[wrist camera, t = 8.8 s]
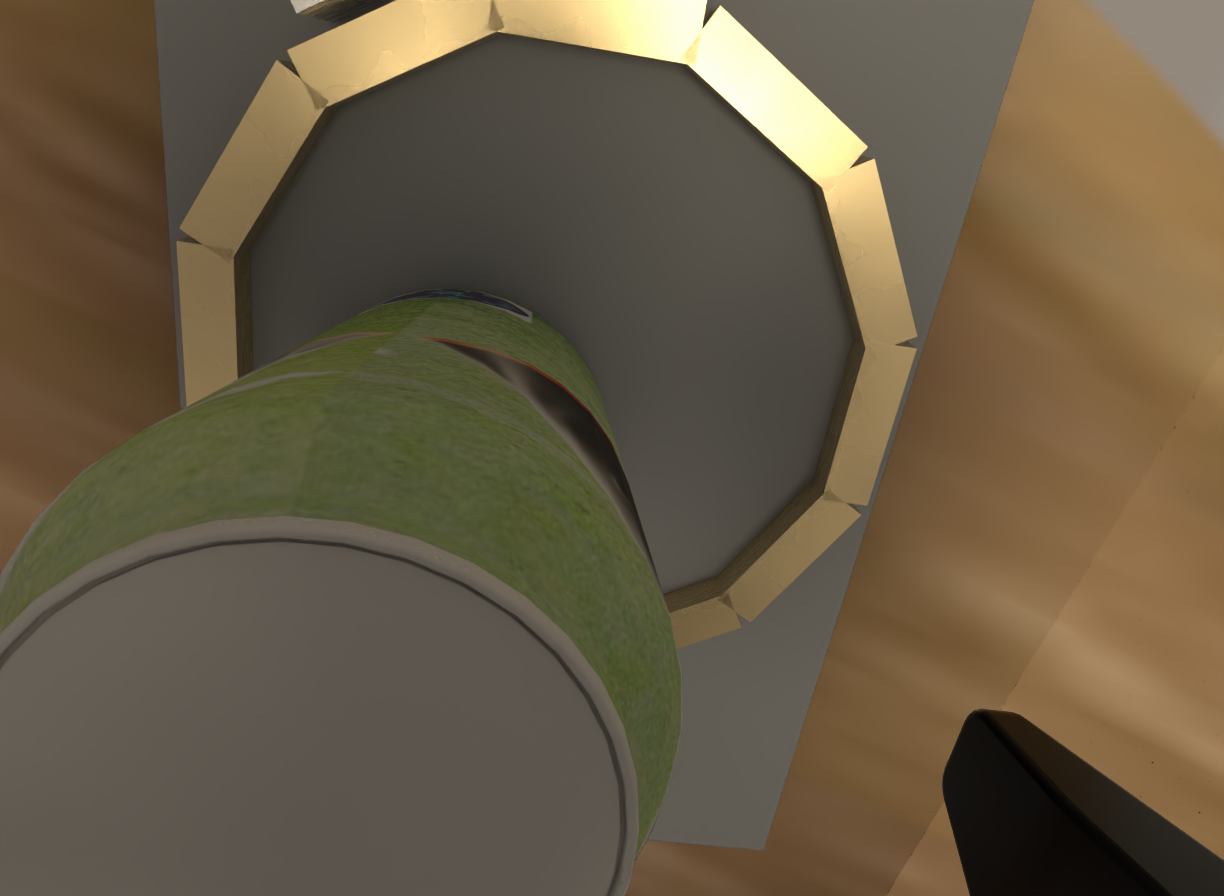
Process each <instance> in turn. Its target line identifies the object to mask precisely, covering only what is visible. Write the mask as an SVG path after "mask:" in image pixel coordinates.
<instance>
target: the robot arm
mask: <svg viewBox="0 0 1224 896" xmlns="http://www.w3.org/2000/svg"><path fill="white" fill-rule="evenodd" d="M942 787H943V796H944V801H945V804H946V808H947V812H948V815H949V819H950V823H951V827H952V830H953V834H954V838H955V842H956V845H957V849H958V853H959V856H960V860H961V864H962V868H963V871H964V875H965V879H966V883H967V886H968V890H969V894H970V896H1224V860H1223V859H1221V858H1220V857H1218V856H1217V855H1216V854H1214V853H1213V852H1211V851H1210V850H1209V849H1207V848H1206V847H1204V846H1203V845H1202V844H1200V843H1199V842H1197V841H1196V840H1195V839H1193V838H1192V837H1190V836H1189V835H1188V834H1186V833H1185V832H1183V831H1182V830H1181V829H1179V828H1178V827H1176V826H1175V825H1174V824H1172V823H1171V822H1169V821H1168V820H1167V819H1165V818H1164V817H1162V816H1161V815H1160V814H1158V813H1157V812H1155V811H1154V810H1153V809H1151V808H1150V807H1148V806H1147V805H1146V804H1144V803H1143V802H1141V801H1140V800H1139V799H1137V798H1136V797H1134V796H1133V795H1132V794H1130V793H1129V792H1127V791H1126V790H1125V789H1123V788H1122V787H1121V786H1119V785H1118V784H1116V783H1115V782H1114V781H1112V780H1111V779H1109V778H1108V777H1107V776H1105V775H1104V774H1102V773H1101V772H1100V771H1098V770H1097V769H1095V768H1094V767H1093V766H1091V765H1090V764H1088V763H1087V762H1086V761H1084V760H1083V759H1081V758H1080V757H1079V756H1077V755H1076V754H1074V753H1073V752H1072V751H1070V750H1069V749H1067V748H1066V747H1065V746H1063V745H1062V744H1060V743H1059V742H1058V741H1056V740H1055V739H1053V738H1052V737H1051V736H1049V735H1048V734H1046V733H1045V732H1044V731H1042V730H1041V729H1039V728H1038V727H1037V726H1035V725H1034V724H1032V723H1031V722H1030V721H1028V720H1027V719H1025V718H1024V717H1022V716H1021V715H1019V714H1016V713H1013V712H1007V711H997V710H988V709H978V710H974V711H973V712H971V713H970V714H969V715H968V716H967V718H966V720H965V722H964V724H963V727H962V729H961V732H960V734H959V736H958V739H957V741H956V743H955V746H954V748H953V751H952V753H951V755H950V758H949V760H948V762H947V765H946V767H945V770H944V774H943V785H942Z"/></svg>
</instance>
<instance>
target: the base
mask: <svg viewBox="0 0 1224 896" xmlns="http://www.w3.org/2000/svg"><path fill="white" fill-rule="evenodd" d="M394 1H396V0H385V1H383V2H380V3H378V4H376V5H374V6H372V7H369V8H367V9H365V10H363V11H361V12H359V13H356V14H354V15H352V16H350V17H348V18H345V19H343V20H341V21H339V22H337V23H332V22H328V21H325V20H321V19H317V18H313V17H310V16H306V15H302V14H298V13H296V11H295V9H294V7H293V5H292V3H291V0H154V9H155V24H156V40H157V55H158V70H159V86H160V101H161V116H162V132H163V147H164V162H165V178H166V193H167V208H168V224H169V239H170V255H171V270H172V285H173V301H174V316H175V331H176V347H177V362H178V377H179V393H180V408H181V410H182V409H184V408H185V407H187V405H186V389H185V372H184V356H183V340H182V324H181V308H180V292H179V275H178V259H177V243H176V241H178V240H180V239H183V238H186V237H189V236H190V235H188V234H187V233H185V232H184V231H182V230H181V229H179V228H180V226H181V224H182V222H183V221H184V219H185V217H186V216H187V214H188V212H189V210H190V209H191V207H192V205H193V203H194V202H195V200H196V198H197V197H198V195H199V193H200V191H201V190H202V188H203V186H204V184H205V183H206V181H207V179H208V177H209V176H210V174H211V172H212V171H213V169H214V167H215V165H216V164H217V162H218V160H219V158H220V157H221V155H222V153H223V152H224V150H225V148H226V146H227V145H228V143H229V141H230V139H231V138H232V136H233V134H234V133H235V131H236V129H237V127H238V126H239V124H240V122H241V120H242V119H243V117H244V115H245V113H246V112H247V110H248V108H249V107H250V105H251V103H252V101H253V100H254V98H255V96H256V94H257V93H258V91H259V89H260V88H261V86H262V84H263V82H264V81H265V79H266V77H267V75H268V74H269V72H270V70H271V69H272V67H273V65H274V63H275V62H276V60H282V61H292V59H291V57H290V55H289V53H288V51H287V50H289V49H291V48H293V47H295V46H297V45H300V44H302V43H304V42H306V41H308V40H311V39H313V38H315V37H317V36H319V35H321V34H324V33H326V32H328V31H330V30H332V29H335V28H337V27H339V26H341V25H343V24H345V23H348V22H350V21H352V20H354V19H356V18H359V17H361V16H363V15H365V14H367V13H369V12H372V11H374V10H376V9H378V8H380V7H383V6H385V5H387V4H389V3H391V2H394ZM1033 2H1034V0H707V3H706V9H705V14H704V20H703V23H704V22H705V21H706V19H707V18H708V17H709V15H710V14H711V13H712V11H713V10H714V9H716V8H717V7H719V6H721V7H722V8H724V9H725V10H726V11H727V12H728V13H729V14H730V15H731V16H732V17H733V18H734V19H735V20H736V21H737V22H738V23H739V24H740V25H741V26H742V27H743V28H744V29H745V30H746V31H748V32H749V33H750V34H751V35H752V36H753V37H754V38H755V39H756V40H757V41H758V42H759V43H760V44H761V45H762V46H763V47H764V48H765V49H766V50H767V51H768V52H769V53H771V54H772V55H773V56H774V57H775V58H776V59H777V60H778V61H779V62H780V63H781V64H782V65H783V66H784V67H785V68H786V69H787V70H788V71H789V72H790V73H791V74H792V75H793V76H795V77H796V78H797V79H798V80H799V81H800V82H801V83H802V84H803V85H804V86H805V87H806V88H807V89H808V90H809V91H810V92H811V93H812V94H813V95H814V96H815V97H816V98H817V99H819V100H820V101H821V102H822V103H823V104H824V105H825V106H826V107H827V108H828V109H829V110H830V111H831V112H832V113H833V114H834V115H835V116H836V117H837V118H838V119H839V120H840V121H841V122H843V123H844V124H845V125H846V126H847V127H848V128H849V129H850V130H851V131H852V132H853V133H854V134H855V135H856V136H857V137H858V138H859V139H860V140H861V141H862V142H863V143H864V144H866V145H867V146H868V147H867V149H866V150H865V151H864V152H863V153H862V154H861V156H866V157H870V158H874V159H875V162H876V166H877V171H878V175H879V179H880V183H881V187H882V191H883V196H884V200H885V204H886V208H887V212H888V216H889V220H890V225H891V229H892V233H893V237H894V241H895V245H896V249H897V254H898V258H899V262H900V266H901V270H902V274H903V278H904V283H905V287H906V291H907V295H908V299H909V303H910V308H911V312H912V316H913V320H914V324H915V328H916V332H917V337H915V338H912V339H909V340H907V341H908V342H909V343H911V344H912V345H913V346H914V347H916V348H917V350H916V353H915V356H914V359H913V362H912V366H911V369H910V372H909V375H908V378H907V382H906V385H905V388H904V391H903V394H902V397H901V401H900V404H899V407H898V410H897V413H896V416H895V420H894V423H893V426H892V429H891V432H890V435H889V439H888V442H887V445H886V448H885V451H884V454H883V458H882V461H881V464H880V467H879V470H878V473H877V477H876V480H875V483H874V486H873V489H872V493H871V496H870V499H869V502H868V505H867V506H866V505H858V504H855V506H856V507H857V509H858V510H859V512H860V513H861V516H860V517H859V518H858V519H857V520H856V521H855V522H854V523H853V524H852V525H851V526H850V527H849V528H848V529H846V530H845V531H844V532H843V533H842V534H841V535H840V536H839V537H838V538H837V539H836V540H835V541H834V542H833V543H832V544H831V545H830V546H829V547H828V548H827V549H826V550H825V551H824V552H823V553H822V554H821V555H820V556H819V557H818V558H817V559H815V560H814V561H813V562H812V563H811V564H810V565H809V566H808V567H807V568H806V569H805V570H804V571H803V572H802V573H801V574H800V575H799V576H798V577H797V578H796V579H795V580H794V581H793V582H792V583H791V584H790V585H789V586H788V587H787V588H786V589H784V590H783V591H782V592H781V593H780V594H779V595H778V596H777V597H776V598H775V599H774V600H773V601H772V602H771V603H770V604H769V605H768V606H767V607H766V608H765V609H764V610H763V611H762V612H761V613H760V614H759V615H758V616H757V617H756V618H755V619H753V620H752V621H751V622H749V621H748V620H747V619H745V618H744V617H742V616H741V615H739V614H738V617H739V620H740V624H741V628H739V629H736V630H733V631H730V632H727V633H724V634H721V635H718V636H715V637H712V638H709V639H706V640H703V641H700V642H697V643H694V644H690V645H687V646H684V647H681V648H678V649H677V650H678V654H679V659H680V663H681V671H682V717H683V721H682V730H681V735H680V741H679V746H678V752H677V758H676V763H675V769H674V775H673V779H672V782H671V785H670V787H669V790H668V792H667V795H666V797H665V800H664V803H663V805H662V808H661V810H660V813H659V816H658V818H657V821H656V823H655V826H654V828H653V831H652V833H651V835H650V837H649V838H648V840H653V841H664V842H676V843H687V844H698V845H709V846H720V847H731V848H743V849H754V850H764V847H765V844H766V841H767V837H768V834H769V831H770V828H771V825H772V822H773V819H774V815H775V812H776V809H777V806H778V803H779V800H780V797H781V793H782V790H783V787H784V784H785V781H786V778H787V775H788V771H789V768H790V765H791V762H792V759H793V756H794V753H795V750H796V746H797V743H798V740H799V737H800V734H801V731H802V728H803V724H804V721H805V718H806V715H807V712H808V709H809V706H810V702H811V699H812V696H813V693H814V690H815V687H816V684H817V680H818V677H819V674H820V671H821V668H822V665H823V662H824V658H825V655H826V652H827V649H828V646H829V643H830V640H831V637H832V633H833V630H834V627H835V624H836V621H837V618H838V615H839V611H840V608H841V605H842V602H843V599H844V596H845V593H846V589H847V586H848V583H849V580H850V577H851V574H852V571H853V567H854V564H855V561H856V558H857V555H858V552H859V549H860V545H861V542H862V539H863V536H864V533H865V530H866V527H867V524H868V520H869V517H870V514H871V511H872V508H873V505H874V502H875V498H876V495H877V492H878V489H879V486H880V483H881V480H882V476H883V473H884V470H885V467H886V464H887V461H888V458H889V454H890V451H891V448H892V445H893V442H894V439H895V436H896V432H897V429H898V426H899V423H900V420H901V417H902V414H903V411H904V407H905V404H906V401H907V398H908V395H909V392H910V389H911V385H912V382H913V379H914V376H915V373H916V370H917V367H918V363H919V360H920V357H921V354H922V351H923V348H924V345H925V341H926V338H927V335H928V332H929V329H930V326H931V323H932V319H933V316H934V313H935V310H936V307H937V304H938V301H939V298H940V294H941V291H942V288H943V285H944V282H945V279H946V276H947V272H948V269H949V266H950V263H951V260H952V257H953V254H954V250H955V247H956V244H957V241H958V238H959V235H960V232H961V228H962V225H963V222H964V219H965V216H966V213H967V210H968V206H969V203H970V200H971V197H972V194H973V191H974V188H975V185H976V181H977V178H978V175H979V172H980V169H981V166H982V163H983V159H984V156H985V153H986V150H987V147H988V144H989V141H990V137H991V134H992V131H993V128H994V125H995V122H996V119H997V115H998V112H999V109H1000V106H1001V103H1002V100H1003V97H1004V93H1005V90H1006V87H1007V84H1008V81H1009V78H1010V75H1011V72H1012V68H1013V65H1014V62H1015V59H1016V56H1017V53H1018V50H1019V46H1020V43H1021V40H1022V37H1023V34H1024V31H1025V28H1026V24H1027V21H1028V18H1029V15H1030V12H1031V9H1032V6H1033ZM292 62H293V61H292ZM250 256H251V295H252V334H253V371H254V370H256V369H258V368H260V367H261V366H263V365H265V364H267V363H269V362H271V361H273V360H274V359H276V358H278V357H280V356H282V355H284V354H286V353H287V352H289V351H291V350H293V349H295V348H297V347H299V346H300V345H302V344H304V343H306V342H308V341H310V340H312V339H313V338H315V337H317V336H319V335H321V334H323V333H324V332H326V331H328V330H330V329H332V328H334V327H336V326H337V325H339V324H341V323H343V322H345V321H347V320H349V319H350V318H352V317H354V316H356V315H358V314H360V313H362V312H363V311H365V310H367V309H369V308H371V307H373V306H375V305H377V304H380V303H382V302H384V301H387V300H389V299H391V298H394V297H396V296H398V295H402V294H407V293H411V292H415V291H420V290H424V289H437V288H461V289H469V290H477V291H483V292H487V293H490V294H493V295H497V296H500V297H503V298H506V299H510V300H512V301H514V302H516V303H518V304H519V305H521V306H523V307H525V308H527V309H529V310H531V311H533V312H535V313H536V314H538V315H539V316H540V317H542V318H543V319H544V320H546V321H547V322H549V323H550V324H551V325H553V326H554V327H555V328H557V329H558V330H559V332H560V333H561V334H562V335H563V336H564V337H565V338H566V339H567V340H568V341H569V342H570V343H571V344H572V345H573V346H574V347H575V348H576V350H577V351H578V353H579V354H580V356H581V357H582V359H583V360H584V362H585V364H586V365H587V367H588V368H589V370H590V371H591V373H592V376H593V378H594V380H595V383H596V385H597V387H598V390H599V392H600V394H601V397H602V401H603V404H604V407H605V410H606V413H607V416H608V420H609V423H610V426H611V429H612V432H613V436H614V439H615V442H616V445H617V448H618V451H619V455H620V458H621V461H622V464H623V467H624V471H625V474H626V477H627V480H628V483H629V486H630V490H631V493H632V496H633V499H634V502H635V506H636V509H637V512H638V515H639V518H640V521H641V525H642V528H643V531H644V534H645V537H646V541H647V544H648V547H649V550H650V553H651V556H652V560H653V563H654V566H655V569H656V572H657V576H658V579H659V582H660V585H661V588H662V591H663V594H664V593H667V592H670V591H673V590H676V589H679V588H682V587H685V586H688V585H691V584H694V583H697V582H700V581H703V580H706V579H709V578H712V577H715V576H717V575H718V574H719V573H720V572H721V571H722V570H723V569H724V568H725V567H726V566H727V565H728V564H729V563H730V562H731V561H732V560H733V559H734V558H735V557H736V556H737V555H738V554H739V553H740V552H741V551H742V550H743V549H744V548H745V547H746V546H747V545H748V544H749V543H750V542H751V541H752V540H753V539H754V538H755V537H756V536H757V535H758V534H759V533H760V532H761V530H762V529H763V528H764V527H765V526H766V525H767V524H768V523H769V522H770V521H771V520H772V519H773V518H774V517H775V516H776V515H777V514H778V513H779V512H780V511H781V510H782V509H783V508H784V507H785V506H786V505H787V504H788V503H789V502H790V501H791V500H792V499H793V498H794V497H795V496H796V495H797V494H798V493H799V492H800V491H801V490H802V489H803V488H804V487H805V486H806V485H807V484H808V483H809V482H810V481H811V480H812V479H813V478H814V475H815V472H816V468H817V465H818V461H819V458H820V454H821V451H822V447H823V443H824V440H825V436H826V433H827V429H828V426H829V422H830V418H831V415H832V411H833V408H834V404H835V401H836V397H837V394H838V390H839V386H840V383H841V379H842V376H843V372H844V369H845V365H846V362H847V358H848V354H849V351H850V347H851V344H852V340H853V333H852V330H851V326H850V323H849V319H848V315H847V312H846V308H845V304H844V301H843V297H842V293H841V290H840V286H839V282H838V279H837V275H836V272H835V268H834V264H833V261H832V257H831V253H830V250H829V246H828V242H827V239H826V235H825V232H824V228H823V224H822V221H821V217H820V213H819V210H818V206H817V202H816V199H815V195H814V192H813V188H812V184H811V183H810V182H809V181H808V180H807V179H806V178H805V177H804V176H803V175H802V174H801V173H799V172H798V171H797V170H796V169H795V168H794V167H793V166H792V165H791V164H790V163H789V162H787V161H786V160H785V159H784V158H783V157H782V156H781V155H780V154H779V153H778V152H776V151H775V150H774V149H773V148H772V147H771V146H770V145H769V144H768V143H767V142H766V141H764V140H763V139H762V138H761V137H760V136H759V135H758V134H757V133H756V132H755V131H754V130H752V129H751V128H750V127H749V126H748V125H747V124H746V123H745V122H744V121H743V120H742V119H740V118H739V117H738V116H737V115H736V114H735V113H734V112H733V111H732V110H731V109H730V108H728V107H727V106H726V105H725V104H724V103H723V102H722V101H721V100H720V99H719V98H717V97H716V96H715V95H714V94H713V93H712V92H711V91H710V90H709V89H708V88H707V87H705V86H704V85H703V84H702V83H701V82H700V81H699V80H698V79H697V78H696V77H695V76H693V75H692V74H691V73H690V72H689V71H688V70H687V69H686V68H685V67H684V66H683V65H677V64H671V63H666V62H660V61H654V60H648V59H642V58H637V57H631V56H625V55H619V54H613V53H607V52H602V51H596V50H590V49H584V48H578V47H572V46H567V45H561V44H555V43H549V42H543V41H537V40H532V39H526V38H520V37H514V36H508V35H502V34H501V35H499V36H497V37H495V38H492V39H490V40H488V41H486V42H483V43H481V44H479V45H477V46H474V47H472V48H470V49H468V50H465V51H463V52H461V53H459V54H456V55H454V56H452V57H449V58H447V59H445V60H443V61H440V62H438V63H436V64H434V65H431V66H429V67H427V68H425V69H422V70H420V71H418V72H416V73H413V74H411V75H409V76H407V77H404V78H402V79H400V80H398V81H395V82H393V83H391V84H389V85H386V86H384V87H382V88H380V89H377V90H375V91H373V92H371V93H368V94H366V95H364V96H362V97H359V98H357V99H355V100H353V101H350V102H348V103H346V104H344V105H341V106H339V107H338V108H337V109H336V111H335V113H334V114H333V116H332V118H331V119H330V121H329V122H328V124H327V126H326V127H325V129H324V131H323V132H322V134H321V135H320V137H319V139H318V140H317V142H316V143H315V145H314V147H313V148H312V150H311V152H310V153H309V155H308V156H307V158H306V160H305V161H304V163H303V165H302V166H301V168H300V169H299V171H298V173H297V174H296V176H295V177H294V179H293V181H292V182H291V184H290V186H289V187H288V189H287V190H286V192H285V194H284V195H283V197H282V199H281V200H280V202H279V203H278V205H277V207H276V208H275V210H274V212H273V213H272V215H271V216H270V218H269V220H268V221H267V223H266V224H265V226H264V228H263V229H262V231H261V233H260V234H259V236H258V237H257V239H256V241H255V242H254V244H253V246H252V247H251V249H250Z"/></svg>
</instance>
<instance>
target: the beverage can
mask: <svg viewBox="0 0 1224 896" xmlns="http://www.w3.org/2000/svg"><path fill="white" fill-rule="evenodd" d="M682 721H683V717H682V671H681V663H680V659H679V654H678V650H677V645H676V641H675V636H674V632H673V627H672V623H671V618H670V614H669V611H668V607H667V604H666V601H665V598H664V595H663V591H662V588H661V585H660V582H659V579H658V576H657V572H656V569H655V566H654V563H653V560H652V556H651V553H650V550H649V547H648V544H647V541H646V537H645V534H644V531H643V528H642V525H641V521H640V518H639V515H638V512H637V509H636V506H635V502H634V499H633V496H632V493H631V490H630V486H629V483H628V480H627V477H626V474H625V471H624V467H623V464H622V461H621V458H620V455H619V451H618V448H617V445H616V442H615V439H614V436H613V432H612V429H611V426H610V423H609V420H608V416H607V413H606V410H605V407H604V404H603V401H602V397H601V394H600V392H599V390H598V387H597V385H596V383H595V380H594V378H593V376H592V373H591V371H590V370H589V368H588V367H587V365H586V364H585V362H584V360H583V359H582V357H581V356H580V354H579V353H578V351H577V350H576V348H575V347H574V346H573V345H572V344H571V343H570V342H569V341H568V340H567V339H566V338H565V337H564V336H563V335H562V334H561V333H560V332H559V330H558V329H557V328H555V327H554V326H553V325H551V324H550V323H549V322H547V321H546V320H544V319H543V318H542V317H540V316H539V315H538V314H536V313H535V312H533V311H531V310H529V309H527V308H525V307H523V306H521V305H519V304H518V303H516V302H514V301H512V300H510V299H506V298H503V297H500V296H497V295H493V294H490V293H487V292H483V291H477V290H469V289H461V288H437V289H424V290H420V291H415V292H411V293H407V294H402V295H398V296H396V297H394V298H391V299H389V300H387V301H384V302H382V303H380V304H377V305H375V306H373V307H371V308H369V309H367V310H365V311H363V312H362V313H360V314H358V315H356V316H354V317H352V318H350V319H349V320H347V321H345V322H343V323H341V324H339V325H337V326H336V327H334V328H332V329H330V330H328V331H326V332H324V333H323V334H321V335H319V336H317V337H315V338H313V339H312V340H310V341H308V342H306V343H304V344H302V345H300V346H299V347H297V348H295V349H293V350H291V351H289V352H287V353H286V354H284V355H282V356H280V357H278V358H276V359H274V360H273V361H271V362H269V363H267V364H265V365H263V366H261V367H260V368H258V369H256V370H254V371H252V372H250V373H248V374H247V375H245V376H243V377H241V378H239V379H237V380H235V381H234V382H232V383H230V384H228V385H226V386H224V387H222V388H221V389H219V390H217V391H215V392H213V393H211V394H210V395H208V396H206V397H204V398H202V399H200V400H198V401H197V402H195V403H193V404H191V405H189V406H187V407H185V408H184V409H182V410H180V411H178V412H176V413H174V414H172V415H171V416H169V417H167V418H165V419H163V420H161V421H159V422H158V423H156V424H154V425H152V426H150V427H148V428H146V429H145V430H143V431H141V432H139V433H138V434H136V435H135V436H133V437H132V438H130V439H129V440H127V441H126V442H124V443H123V444H121V445H120V446H118V447H117V448H115V449H114V450H112V451H111V452H110V453H108V454H107V455H105V456H104V457H102V458H101V459H99V460H98V461H96V462H95V463H93V464H92V465H90V466H89V467H87V468H86V469H85V470H83V471H82V472H81V473H80V474H79V475H78V476H77V477H76V478H75V479H74V480H73V481H72V482H71V483H70V484H69V485H68V486H67V487H66V488H65V489H64V490H63V491H62V492H61V493H60V494H59V495H58V497H57V498H56V499H55V500H54V501H53V502H52V503H51V504H50V505H49V506H48V507H47V508H46V509H45V510H44V511H43V512H42V513H41V514H40V515H39V516H38V517H37V518H36V519H35V521H34V522H33V524H32V525H31V527H30V528H29V530H28V531H27V533H26V535H25V536H24V538H23V539H22V541H21V542H20V544H19V546H18V547H17V549H16V550H15V552H14V553H13V555H12V557H11V558H10V560H9V561H8V563H7V564H6V566H5V568H4V569H3V571H2V572H1V574H0V896H625V894H626V892H627V889H628V886H629V884H630V881H631V877H632V871H633V865H634V861H635V860H636V858H637V856H638V855H639V853H640V851H641V850H642V848H643V847H644V845H645V843H646V842H647V840H648V838H649V837H650V835H651V833H652V831H653V828H654V826H655V823H656V821H657V818H658V816H659V813H660V810H661V808H662V805H663V803H664V800H665V797H666V795H667V792H668V790H669V787H670V785H671V782H672V779H673V775H674V769H675V763H676V758H677V752H678V746H679V741H680V735H681V730H682Z"/></svg>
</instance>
